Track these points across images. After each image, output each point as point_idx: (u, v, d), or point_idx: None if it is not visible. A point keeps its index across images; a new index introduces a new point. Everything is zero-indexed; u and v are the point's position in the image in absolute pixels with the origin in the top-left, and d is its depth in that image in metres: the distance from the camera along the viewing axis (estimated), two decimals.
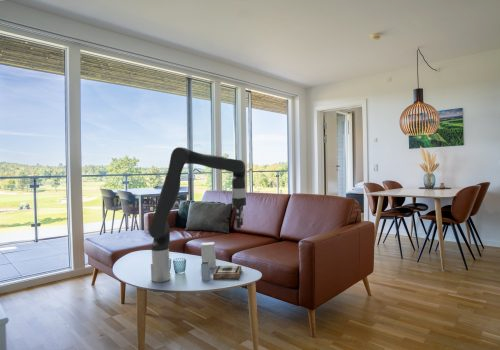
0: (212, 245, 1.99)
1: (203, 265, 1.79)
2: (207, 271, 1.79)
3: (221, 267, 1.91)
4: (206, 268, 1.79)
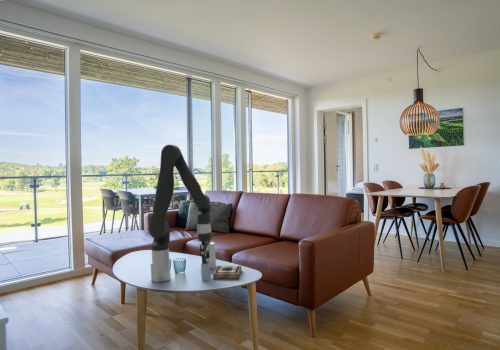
0: (212, 245, 1.99)
1: (203, 265, 1.79)
2: (207, 271, 1.79)
3: (221, 267, 1.91)
4: (206, 268, 1.79)
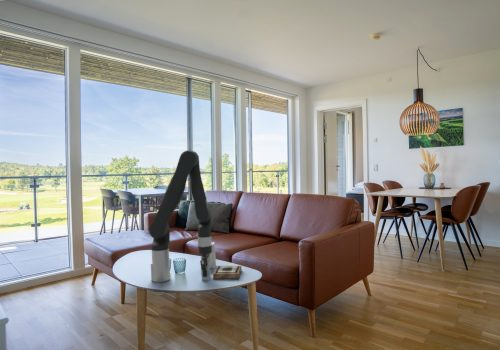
0: (212, 245, 1.99)
1: None
2: (207, 271, 1.79)
3: (221, 267, 1.91)
4: None
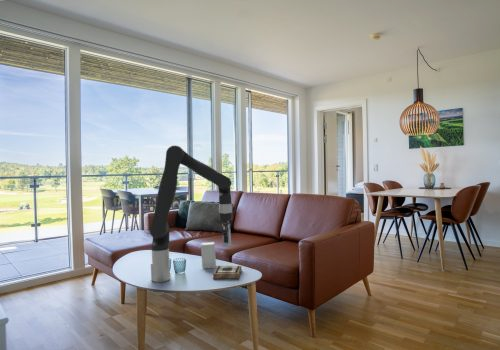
0: (212, 245, 1.99)
1: None
2: (228, 237, 1.84)
3: (221, 267, 1.91)
4: None
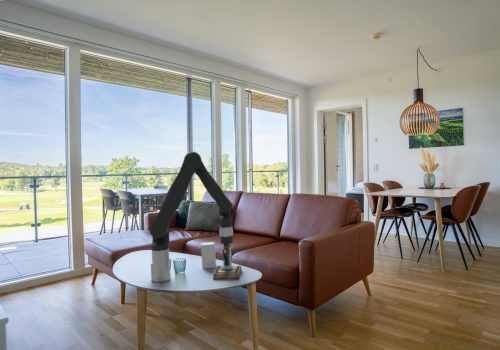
0: (212, 245, 1.99)
1: None
2: (229, 260, 1.85)
3: (221, 267, 1.91)
4: None
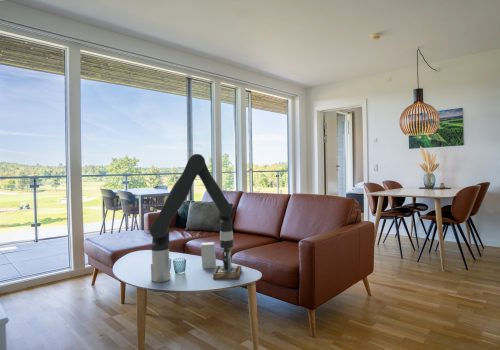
0: (212, 245, 1.99)
1: (225, 260, 1.85)
2: (229, 265, 1.85)
3: (221, 267, 1.91)
4: (228, 262, 1.85)
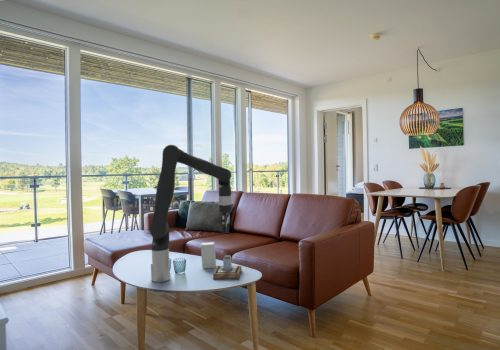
0: (212, 245, 1.99)
1: (225, 260, 1.85)
2: (229, 265, 1.85)
3: (221, 267, 1.91)
4: (228, 262, 1.85)
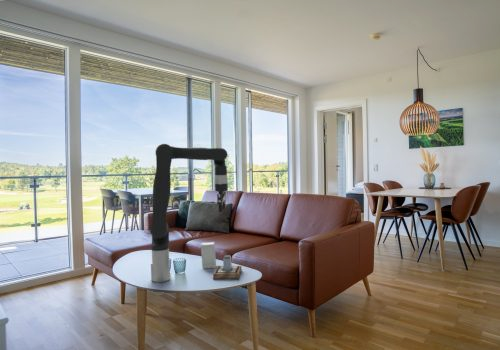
0: (212, 245, 1.99)
1: (225, 260, 1.85)
2: (229, 265, 1.85)
3: (221, 267, 1.91)
4: (228, 262, 1.85)
